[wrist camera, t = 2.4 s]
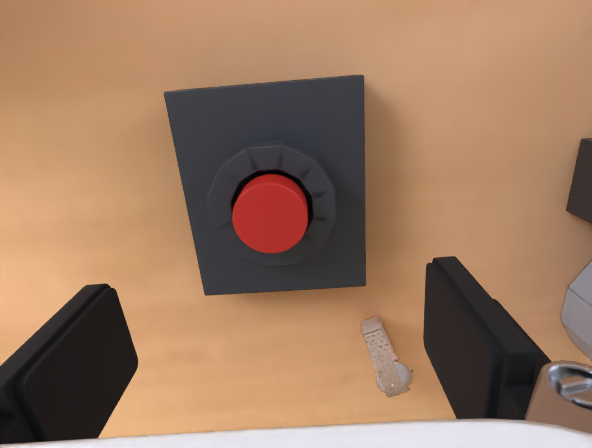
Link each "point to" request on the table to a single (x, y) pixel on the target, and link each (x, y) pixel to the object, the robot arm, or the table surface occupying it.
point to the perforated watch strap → (385, 359)
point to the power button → (270, 214)
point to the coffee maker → (588, 285)
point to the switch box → (282, 161)
